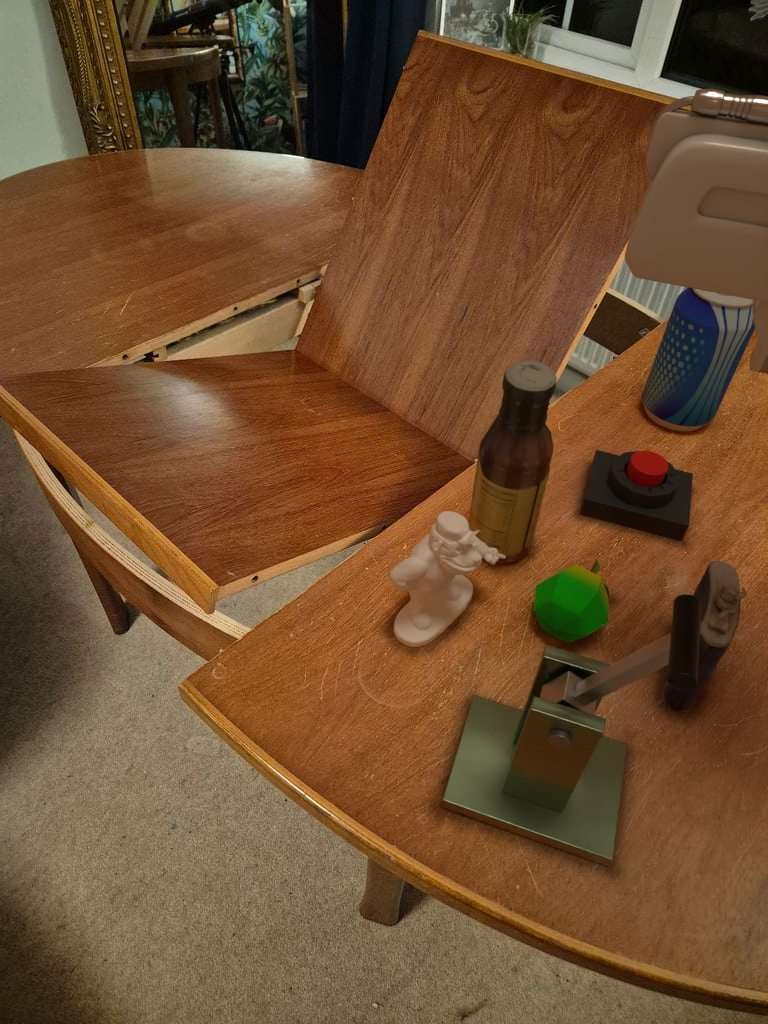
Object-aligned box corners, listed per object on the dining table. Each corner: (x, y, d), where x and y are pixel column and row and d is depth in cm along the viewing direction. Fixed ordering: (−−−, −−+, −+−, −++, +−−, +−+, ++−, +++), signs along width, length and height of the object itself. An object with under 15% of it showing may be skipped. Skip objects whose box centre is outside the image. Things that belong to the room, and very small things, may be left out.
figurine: (436, 667, 61) (452, 575, 53) (376, 624, 64) (381, 529, 56) (497, 602, 66) (521, 507, 58) (439, 564, 69) (453, 469, 61)
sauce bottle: (502, 511, 74) (540, 340, 60) (543, 551, 71) (594, 379, 57) (450, 536, 72) (477, 363, 58) (490, 578, 68) (530, 406, 54)
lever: (713, 608, 41) (680, 585, 41) (710, 689, 38) (674, 665, 37) (574, 683, 50) (546, 665, 50) (561, 755, 46) (530, 736, 46)
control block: (686, 488, 78) (699, 460, 75) (681, 541, 73) (695, 512, 70) (591, 464, 80) (600, 436, 77) (579, 514, 75) (589, 485, 72)
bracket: (623, 751, 57) (677, 657, 48) (608, 867, 51) (667, 785, 42) (471, 702, 59) (495, 604, 50) (440, 807, 53) (461, 717, 44)
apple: (570, 598, 58) (611, 527, 63) (506, 602, 62) (549, 536, 68) (609, 664, 60) (646, 591, 65) (545, 664, 65) (584, 595, 70)
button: (664, 468, 75) (669, 455, 73) (661, 491, 72) (667, 478, 71) (628, 459, 75) (632, 446, 74) (624, 482, 73) (629, 469, 72)
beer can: (724, 433, 85) (784, 308, 73) (656, 438, 84) (706, 312, 72) (691, 389, 91) (742, 267, 79) (627, 393, 89) (669, 270, 78)
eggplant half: (673, 620, 66) (718, 539, 58) (707, 632, 65) (757, 551, 57) (658, 705, 60) (705, 628, 52) (695, 719, 59) (749, 642, 51)
